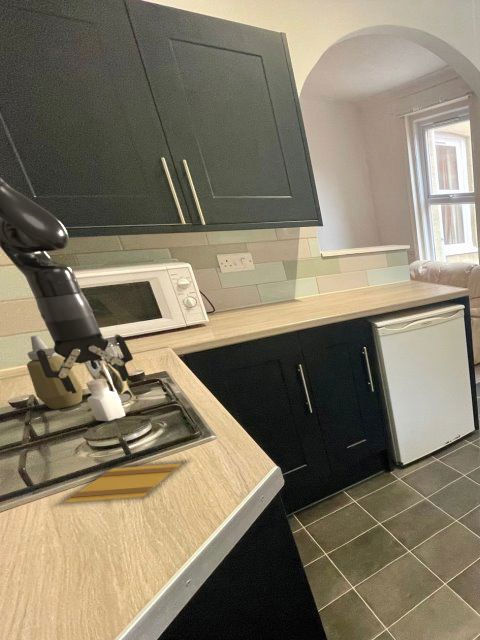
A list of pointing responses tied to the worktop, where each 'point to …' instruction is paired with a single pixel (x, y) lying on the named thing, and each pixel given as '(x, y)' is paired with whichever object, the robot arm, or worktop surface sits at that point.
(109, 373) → the beer glass
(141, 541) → the worktop surface
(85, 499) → the towel
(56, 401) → the squeeze bottle
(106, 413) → the pepper shaker
